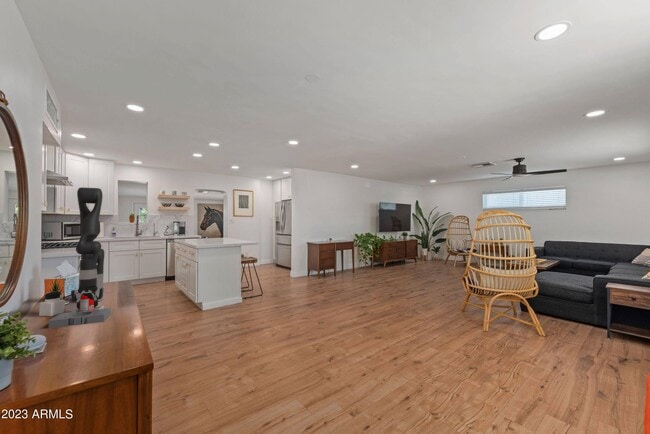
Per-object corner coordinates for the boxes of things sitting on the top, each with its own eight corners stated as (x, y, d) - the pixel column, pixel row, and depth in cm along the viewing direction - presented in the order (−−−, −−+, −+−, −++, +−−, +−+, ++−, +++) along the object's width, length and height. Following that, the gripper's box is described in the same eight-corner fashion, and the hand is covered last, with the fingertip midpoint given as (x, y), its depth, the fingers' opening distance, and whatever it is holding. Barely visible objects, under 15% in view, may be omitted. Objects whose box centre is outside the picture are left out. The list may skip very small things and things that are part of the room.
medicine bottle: (64, 312, 152) (65, 290, 153) (50, 316, 145) (51, 294, 146) (53, 311, 153) (54, 290, 153) (38, 316, 146) (39, 293, 146)
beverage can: (97, 312, 153) (98, 290, 153) (85, 315, 146) (85, 293, 147) (89, 311, 154) (89, 289, 154) (76, 314, 148) (77, 292, 148)
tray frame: (77, 311, 153) (77, 308, 153) (104, 309, 158) (104, 305, 158) (68, 318, 142) (68, 314, 142) (97, 315, 147) (97, 311, 147)
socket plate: (48, 328, 129) (48, 320, 129) (60, 320, 140) (60, 313, 140) (103, 321, 138) (104, 314, 138) (110, 314, 149) (110, 308, 149)
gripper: (106, 275, 157) (105, 304, 157) (74, 277, 151) (73, 307, 151) (102, 277, 150) (101, 308, 150) (68, 279, 144) (67, 311, 144)
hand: (87, 307), depth 150 cm, fingers closed on beverage can, 6 cm apart
